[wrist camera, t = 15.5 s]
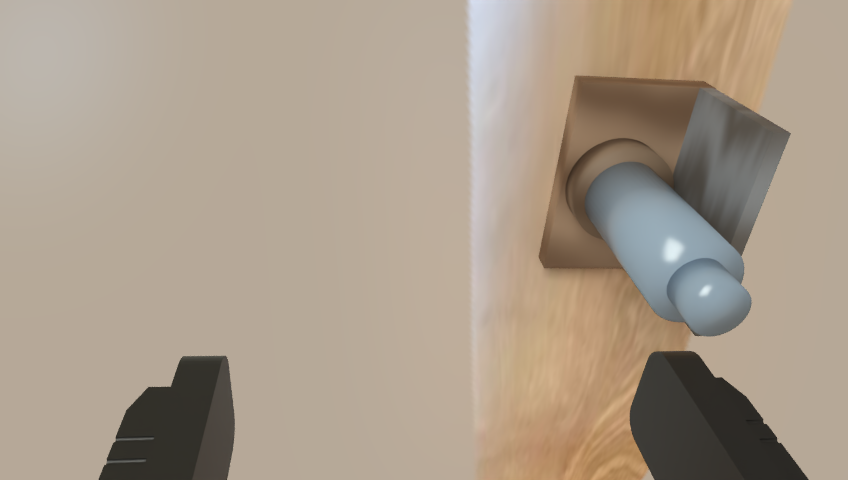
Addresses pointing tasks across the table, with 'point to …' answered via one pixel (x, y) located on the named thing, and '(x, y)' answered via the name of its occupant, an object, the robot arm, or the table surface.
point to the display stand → (659, 159)
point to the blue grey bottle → (668, 249)
